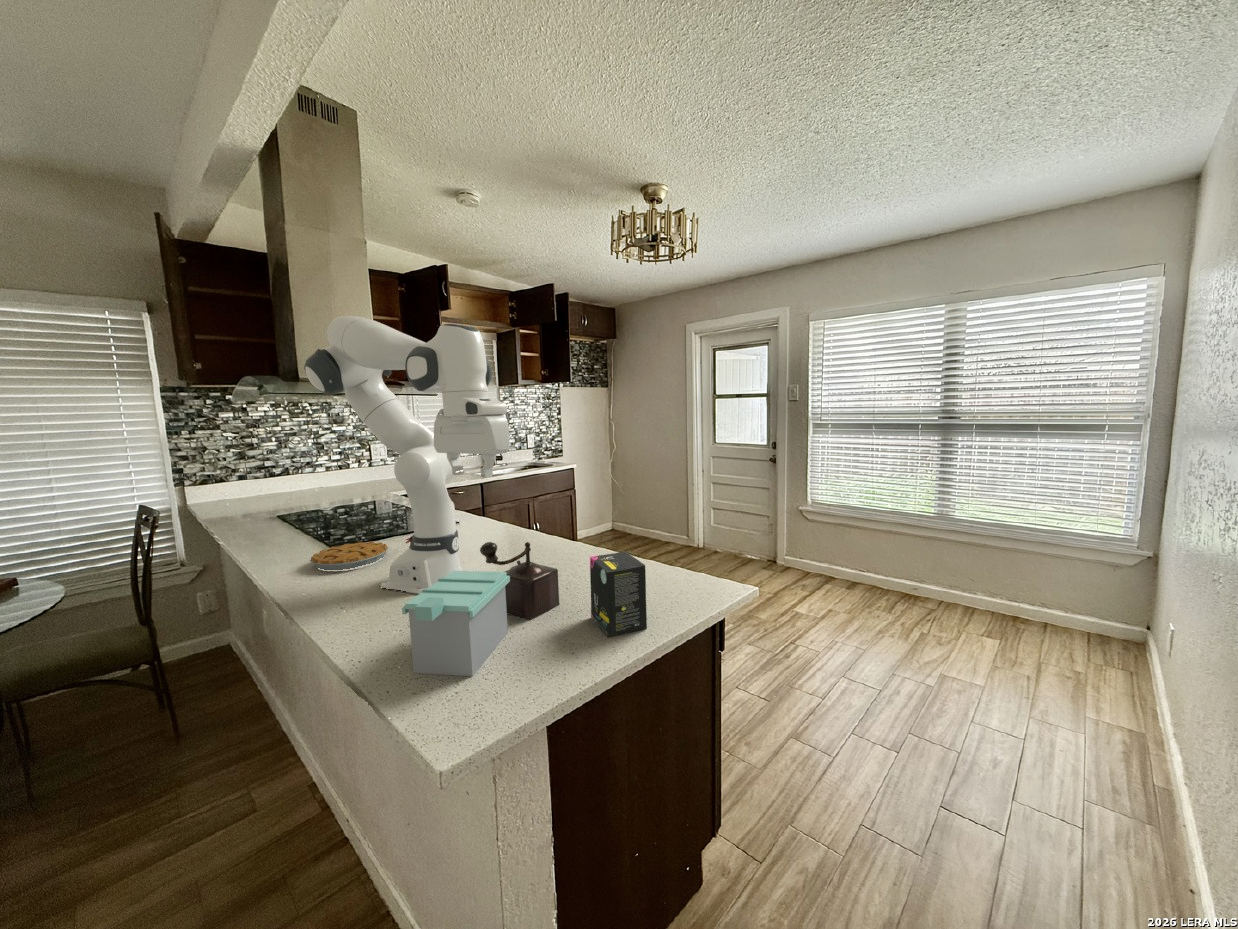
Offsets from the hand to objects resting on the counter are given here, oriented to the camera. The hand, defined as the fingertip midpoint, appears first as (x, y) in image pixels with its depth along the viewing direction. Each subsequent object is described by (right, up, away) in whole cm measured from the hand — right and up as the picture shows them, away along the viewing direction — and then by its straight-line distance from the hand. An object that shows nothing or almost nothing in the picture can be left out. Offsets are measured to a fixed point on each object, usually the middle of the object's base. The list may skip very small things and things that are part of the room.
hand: (472, 475), depth 93 cm
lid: (-2, -24, -4) cm, 25 cm away
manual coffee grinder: (+6, -33, +17) cm, 38 cm away
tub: (-1, -35, -1) cm, 35 cm away
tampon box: (+30, -34, +9) cm, 46 cm away
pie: (-58, -30, +58) cm, 88 cm away
